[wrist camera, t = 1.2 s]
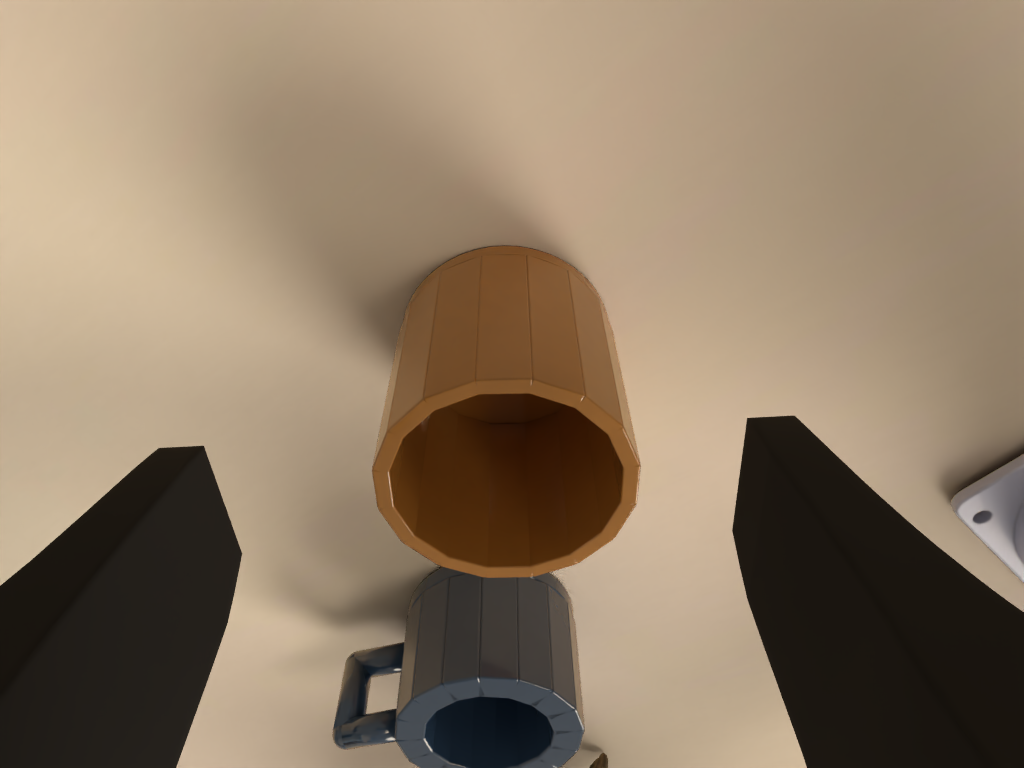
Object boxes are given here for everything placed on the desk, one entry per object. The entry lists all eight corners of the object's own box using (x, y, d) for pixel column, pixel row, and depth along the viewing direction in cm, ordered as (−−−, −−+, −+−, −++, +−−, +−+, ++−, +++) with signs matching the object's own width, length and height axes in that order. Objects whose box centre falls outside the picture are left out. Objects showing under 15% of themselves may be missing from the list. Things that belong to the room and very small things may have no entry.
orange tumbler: (652, 337, 21) (694, 484, 16) (508, 452, 23) (509, 611, 19) (502, 201, 19) (502, 327, 14) (359, 342, 21) (319, 491, 16)
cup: (549, 540, 25) (557, 662, 22) (588, 647, 28) (601, 770, 25) (319, 588, 26) (289, 712, 23) (380, 686, 29) (362, 808, 26)
